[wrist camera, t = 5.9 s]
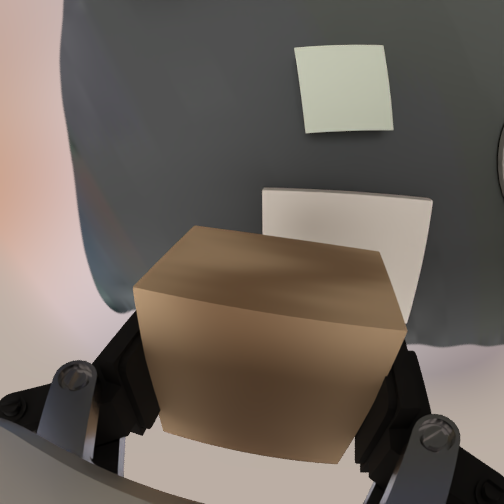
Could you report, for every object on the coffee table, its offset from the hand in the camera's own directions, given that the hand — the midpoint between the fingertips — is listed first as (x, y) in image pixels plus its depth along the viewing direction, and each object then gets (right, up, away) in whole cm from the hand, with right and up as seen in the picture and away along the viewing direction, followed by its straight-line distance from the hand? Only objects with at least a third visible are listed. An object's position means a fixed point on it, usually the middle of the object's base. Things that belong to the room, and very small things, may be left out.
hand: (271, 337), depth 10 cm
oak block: (0, +1, +1) cm, 1 cm away
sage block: (+6, +15, +11) cm, 20 cm away
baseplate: (+7, +2, +17) cm, 18 cm away
